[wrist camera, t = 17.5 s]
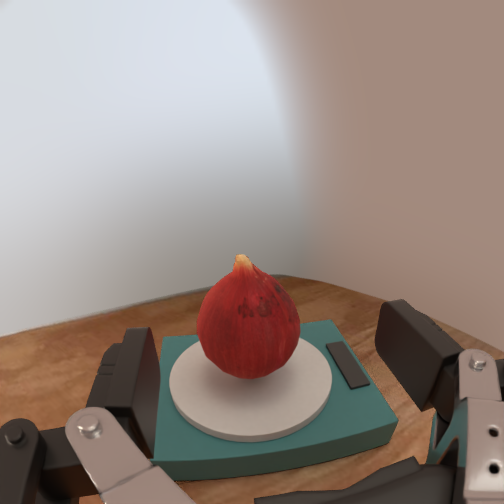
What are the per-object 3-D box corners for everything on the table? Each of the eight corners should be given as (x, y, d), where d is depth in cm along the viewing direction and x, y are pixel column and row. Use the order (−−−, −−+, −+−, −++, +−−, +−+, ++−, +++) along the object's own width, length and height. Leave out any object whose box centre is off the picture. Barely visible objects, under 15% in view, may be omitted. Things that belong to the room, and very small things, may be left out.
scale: (328, 341, 27) (332, 312, 26) (388, 443, 16) (402, 412, 15) (167, 359, 25) (161, 329, 24) (160, 481, 14) (145, 454, 13)
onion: (307, 357, 21) (314, 244, 18) (278, 417, 16) (281, 288, 13) (229, 340, 23) (222, 234, 20) (187, 389, 18) (166, 268, 15)
